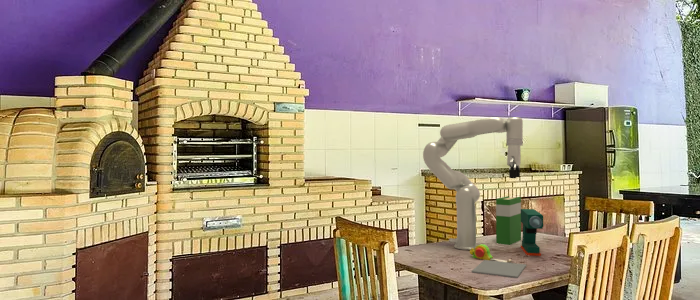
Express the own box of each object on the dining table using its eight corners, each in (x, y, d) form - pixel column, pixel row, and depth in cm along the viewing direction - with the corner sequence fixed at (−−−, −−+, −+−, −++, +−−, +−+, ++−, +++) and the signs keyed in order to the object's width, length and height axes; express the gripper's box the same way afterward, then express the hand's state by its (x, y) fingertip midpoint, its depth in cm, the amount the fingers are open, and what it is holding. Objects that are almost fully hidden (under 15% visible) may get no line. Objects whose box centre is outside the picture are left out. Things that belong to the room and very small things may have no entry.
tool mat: (471, 272, 194) (471, 270, 194) (484, 261, 213) (484, 259, 213) (517, 278, 185) (517, 276, 185) (526, 265, 204) (526, 264, 204)
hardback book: (507, 238, 267) (507, 196, 267) (521, 240, 263) (520, 197, 263) (496, 243, 253) (496, 198, 253) (509, 245, 249) (509, 199, 249)
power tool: (548, 262, 210) (548, 217, 210) (531, 262, 211) (531, 217, 211) (535, 248, 241) (534, 209, 241) (520, 247, 243) (520, 208, 243)
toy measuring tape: (472, 255, 225) (472, 241, 225) (513, 261, 213) (513, 247, 213) (466, 258, 220) (466, 244, 220) (507, 264, 208) (507, 249, 208)
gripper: (509, 143, 240) (510, 176, 240) (503, 142, 225) (503, 178, 225) (525, 142, 236) (525, 176, 236) (519, 142, 221) (519, 178, 221)
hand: (514, 177), depth 230 cm, fingers open, 9 cm apart
